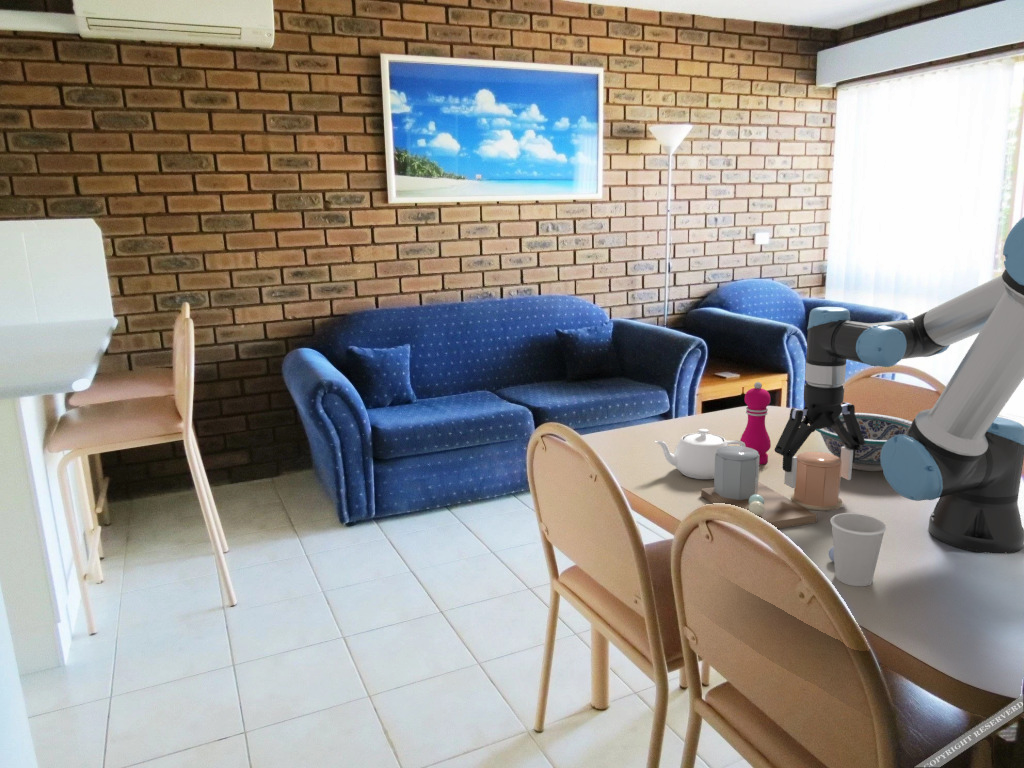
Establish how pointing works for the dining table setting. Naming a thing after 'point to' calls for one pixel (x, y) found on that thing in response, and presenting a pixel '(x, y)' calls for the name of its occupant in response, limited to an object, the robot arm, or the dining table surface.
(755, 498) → the marble
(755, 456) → the grey faceted canister
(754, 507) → the marble
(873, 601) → the dining table surface
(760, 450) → the pepper mill
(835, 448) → the bowl
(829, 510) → the coaster
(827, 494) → the peach faceted canister
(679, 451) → the teapot
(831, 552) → the marble
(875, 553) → the dixie cup
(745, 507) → the board
